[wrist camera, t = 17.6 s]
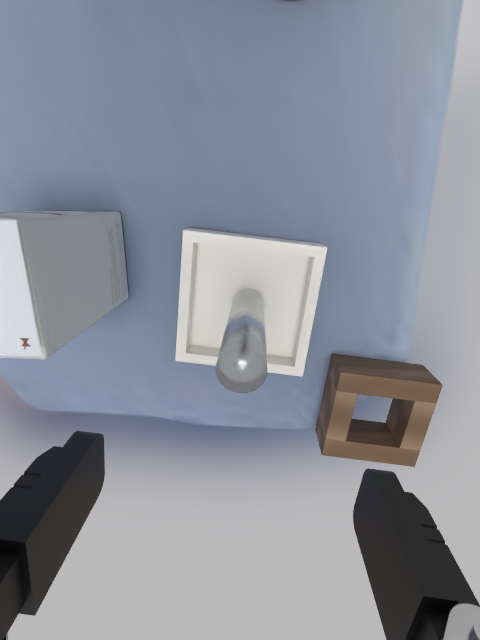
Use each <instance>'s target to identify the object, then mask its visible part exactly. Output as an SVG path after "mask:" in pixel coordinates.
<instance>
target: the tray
mask: <svg viewBox="0 0 480 640" xmlns="http://www.w3.org/2000/svg"><path fill="white" fill-rule="evenodd" d="M326 253H327V247H326V246H325V245H323V244H321V243H313V242H305V241H297V240H288V239H280V238H272V237H263V236H255V235H247V234H239V233H230V232H222V231H214V230H206V229H197V228H187V229H184V230H183V240H182V257H181V274H180V291H179V308H178V325H177V342H176V360H175V361H181V362H189V363H197V364H205V365H213V366H216V363H217V359H218V355H219V351H220V348H221V344H222V340H223V336H224V332H225V328H226V324H227V320H228V316H229V312H230V308H231V305H232V301H233V297H234V296H235V294H236V293H237V292H238V291H240V290H242V289H245V288H251V289H254V290H256V291H258V292H259V293H260V294H261V296H262V297H263V301H264V316H265V334H266V352H267V372H269V373H277V374H285V375H293V376H301V377H303V372H304V367H305V362H306V356H307V351H308V346H309V341H310V336H311V331H312V325H313V320H314V315H315V310H316V305H317V300H318V294H319V289H320V284H321V279H322V274H323V268H324V263H325V258H326Z"/></svg>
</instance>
